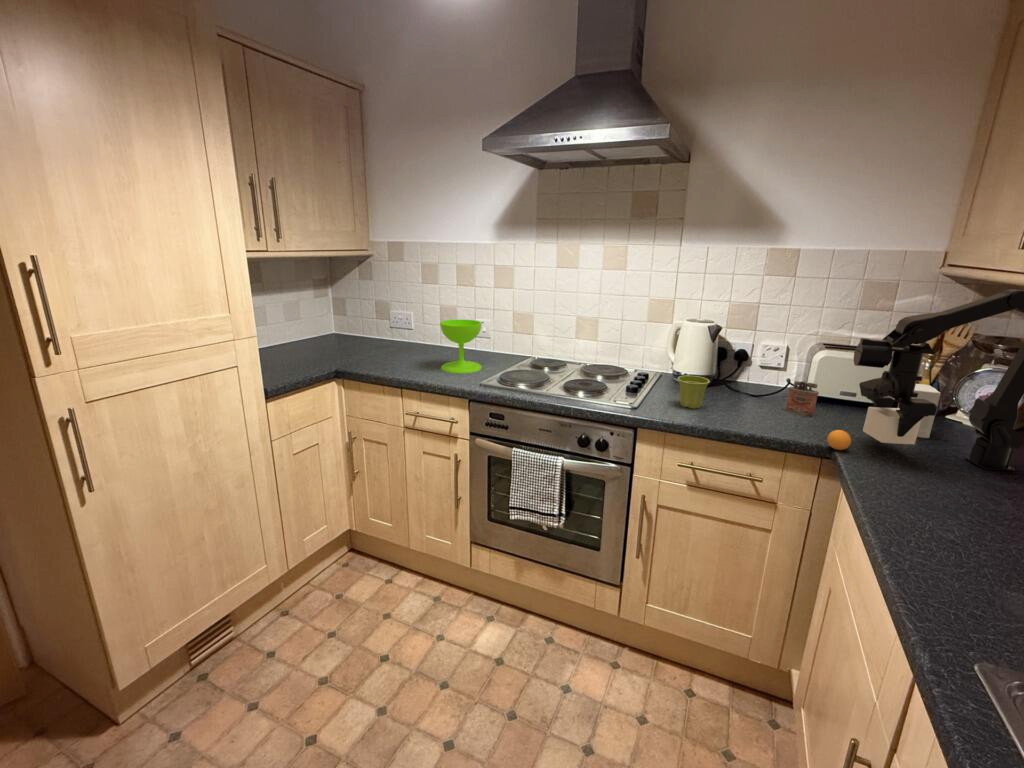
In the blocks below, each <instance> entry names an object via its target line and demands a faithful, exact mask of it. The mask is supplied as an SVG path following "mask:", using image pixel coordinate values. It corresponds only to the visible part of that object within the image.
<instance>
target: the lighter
mask: <svg viewBox="0 0 1024 768" xmlns="http://www.w3.org/2000/svg"><path fill="white" fill-rule="evenodd" d="M793 382H794V383H793V386H789V387H788V394H787V399H786V407H784V411H785V412H788V413H791V414H795V415H800V416H804V415H805V417H810V416H812V417H815V414H816V413H815V410H816V406H817V405H816V403H817V400H818V396H819V392H820V391H818V390H814V389H817V388H818V384H817V383H816V382H815V383H814V382H807V381H806V380H802V381H800V380H794V381H793Z"/></svg>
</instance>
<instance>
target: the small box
mask: <svg viewBox="0 0 1024 768" xmlns="http://www.w3.org/2000/svg"><path fill="white" fill-rule="evenodd" d="M914 392H916V393H918V396H917V397H911V399H925V400H928V401H930V402H932V403H934V404H935V405H936V406H937V407H938V406H939V402H940V397H941V392H940V391H938V390H937V389H936V388H935V387H934V386H931V385H930V384H923V383H922V384H921V383H916V386H915V390H914ZM900 399H901V398H900ZM897 403H898V404H897V408H899V402H897ZM935 416H936V415H935ZM935 416H928V417H926V416H925V417H924V418H922V420H921V423H920V427H919V430H918V434H917V438H922V439H929V438H930V435H931V432H932V429H933V425H934V422H935V421H934V420H935V418H936V417H935Z"/></svg>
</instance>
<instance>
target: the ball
mask: <svg viewBox="0 0 1024 768" xmlns="http://www.w3.org/2000/svg"><path fill="white" fill-rule="evenodd" d="M826 440H827V444H828V445H829V446H830V447H831V448H832V449H834V450H837V451H842V450H846V449H847V448H849V446H851V444H852V438H851V436H850V434H849V433H848V432H846V431H845V430H841V429H837V430H836V429H835V430H832V431H831V432H829V433H828V436H827V439H826Z"/></svg>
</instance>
